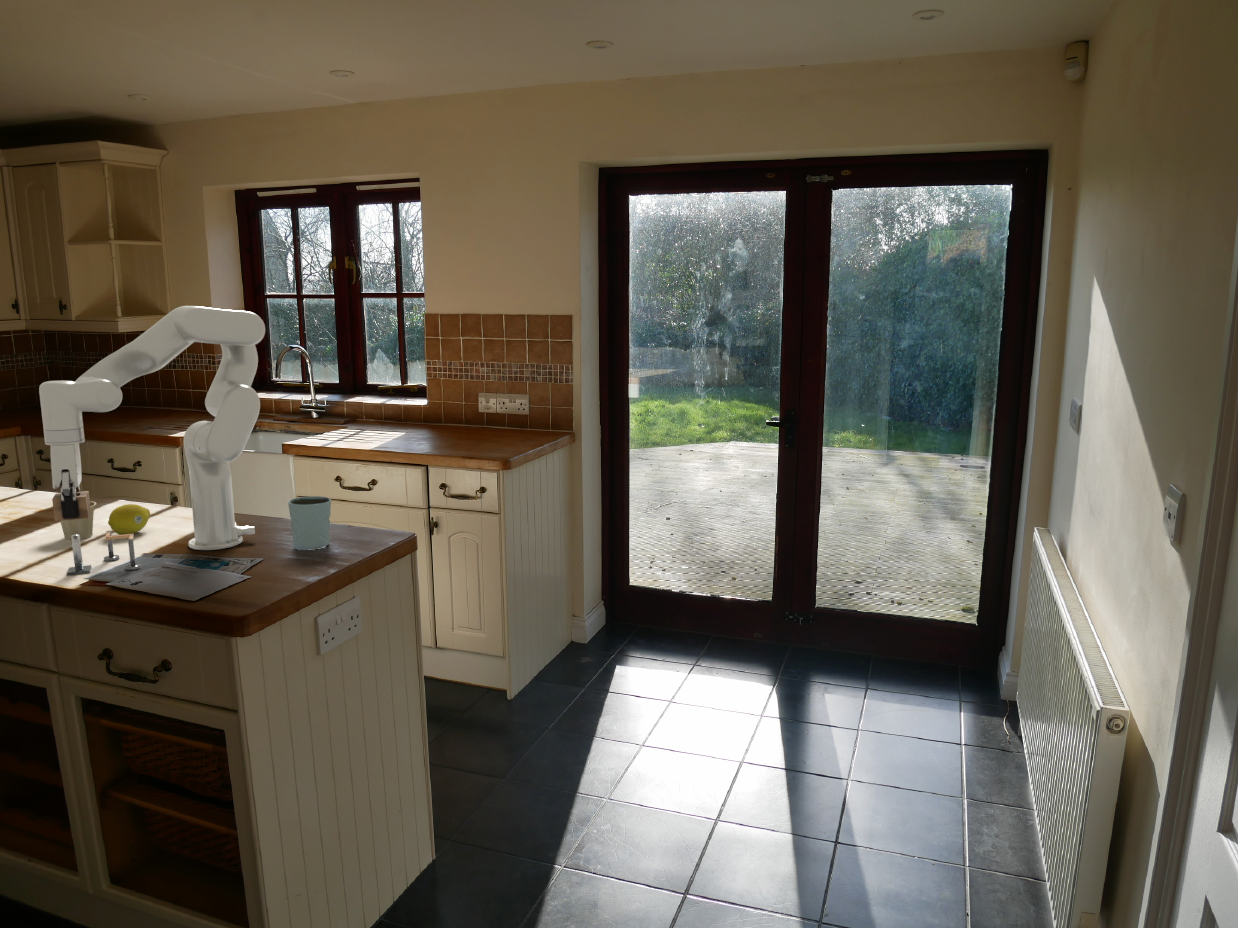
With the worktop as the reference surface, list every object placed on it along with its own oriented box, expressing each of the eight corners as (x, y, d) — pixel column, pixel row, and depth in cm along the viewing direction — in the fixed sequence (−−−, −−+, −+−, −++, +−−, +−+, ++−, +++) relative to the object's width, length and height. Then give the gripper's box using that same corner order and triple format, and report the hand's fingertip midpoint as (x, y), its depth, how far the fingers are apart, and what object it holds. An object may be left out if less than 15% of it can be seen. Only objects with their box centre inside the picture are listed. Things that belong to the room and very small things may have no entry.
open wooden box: (90, 511, 202) (88, 490, 201) (88, 518, 196) (85, 496, 195) (58, 514, 199) (55, 493, 198) (54, 521, 193) (52, 499, 192)
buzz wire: (114, 556, 211) (111, 528, 210) (151, 565, 205) (148, 536, 204) (93, 562, 207) (90, 533, 206) (131, 571, 201) (128, 541, 199)
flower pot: (108, 532, 232) (104, 501, 231) (83, 542, 223) (79, 509, 222) (75, 531, 233) (71, 500, 232) (49, 541, 224) (45, 508, 222)
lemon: (115, 540, 225) (111, 510, 224) (103, 535, 230) (99, 505, 229) (158, 532, 233) (155, 503, 232) (146, 527, 238) (143, 498, 237)
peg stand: (91, 567, 203) (87, 531, 201) (89, 572, 199) (85, 536, 198) (69, 569, 201) (65, 533, 199) (67, 575, 197) (62, 538, 196)
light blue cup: (282, 547, 220) (279, 501, 218) (313, 538, 229) (310, 493, 226) (311, 553, 215) (308, 506, 213) (341, 543, 224) (339, 498, 222)
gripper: (49, 432, 200) (58, 507, 203) (39, 443, 185) (48, 525, 188) (87, 430, 203) (95, 504, 207) (80, 441, 188) (88, 521, 192)
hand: (72, 513), depth 197 cm, fingers closed on open wooden box, 6 cm apart
